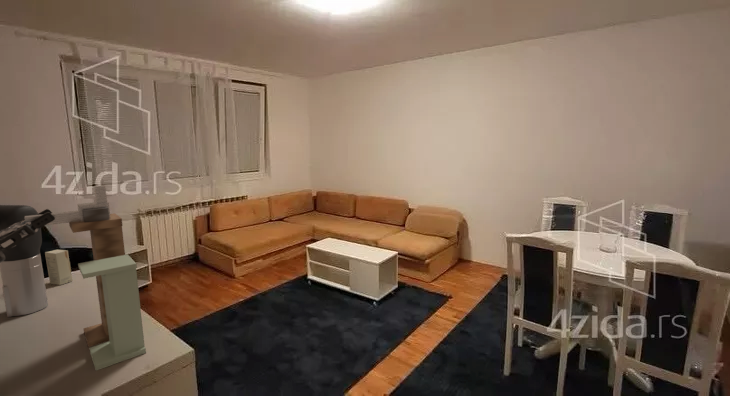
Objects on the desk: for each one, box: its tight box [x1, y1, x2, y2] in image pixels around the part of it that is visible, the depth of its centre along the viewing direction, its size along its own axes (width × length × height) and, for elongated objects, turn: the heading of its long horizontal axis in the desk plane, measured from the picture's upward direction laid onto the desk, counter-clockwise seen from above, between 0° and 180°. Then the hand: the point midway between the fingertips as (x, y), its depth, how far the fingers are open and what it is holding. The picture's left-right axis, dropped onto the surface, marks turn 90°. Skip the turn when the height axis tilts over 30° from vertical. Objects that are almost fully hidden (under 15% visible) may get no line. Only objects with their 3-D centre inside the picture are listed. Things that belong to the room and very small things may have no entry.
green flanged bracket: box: [77, 254, 147, 371], centre depth 85 cm, size 10×10×23 cm
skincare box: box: [44, 249, 73, 286], centre depth 131 cm, size 6×4×12 cm
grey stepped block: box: [25, 185, 111, 226], centre depth 87 cm, size 16×4×8 cm, turn 134°
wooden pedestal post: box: [68, 207, 126, 348], centre depth 93 cm, size 10×10×35 cm
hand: (51, 213), depth 85 cm, fingers open, 5 cm apart
